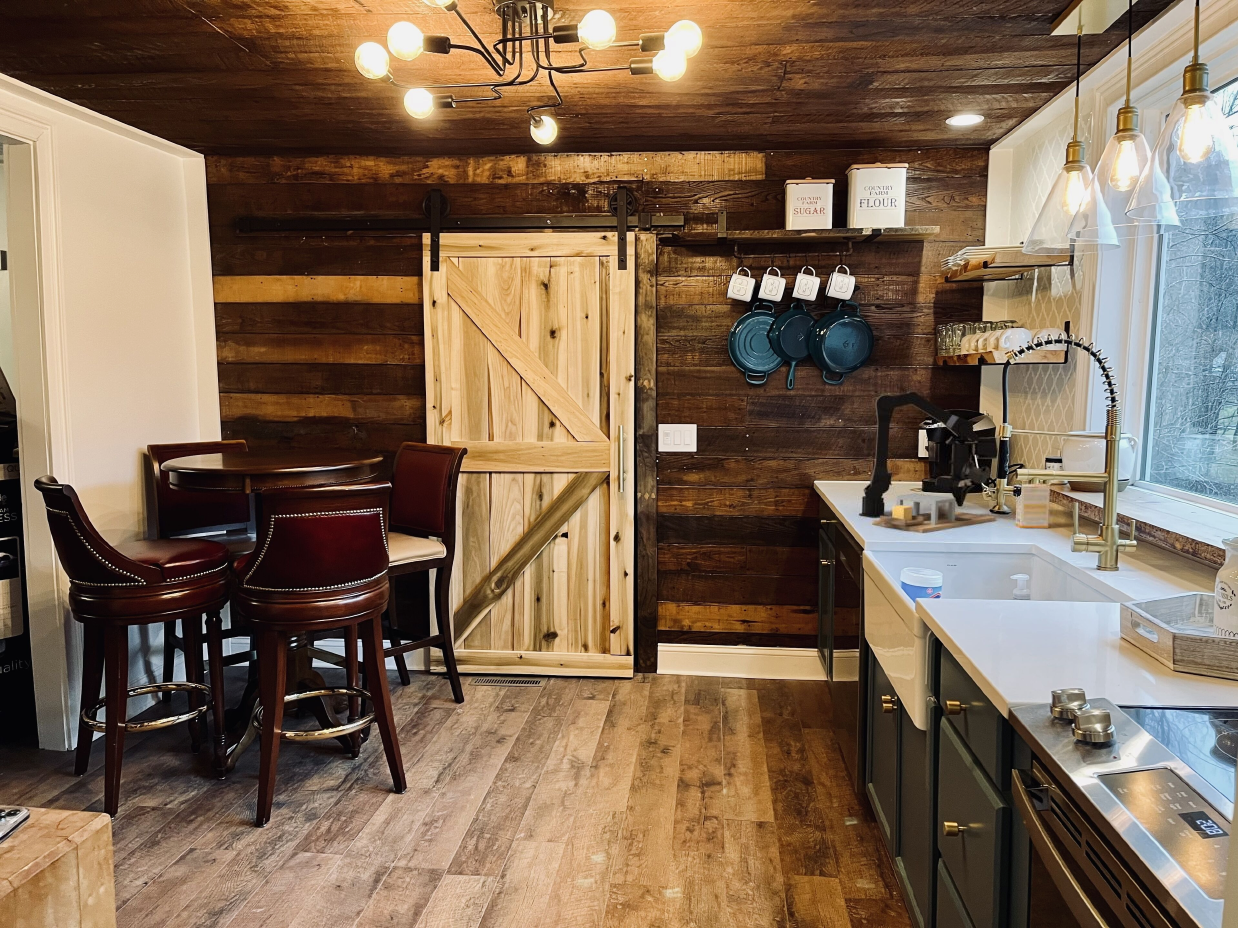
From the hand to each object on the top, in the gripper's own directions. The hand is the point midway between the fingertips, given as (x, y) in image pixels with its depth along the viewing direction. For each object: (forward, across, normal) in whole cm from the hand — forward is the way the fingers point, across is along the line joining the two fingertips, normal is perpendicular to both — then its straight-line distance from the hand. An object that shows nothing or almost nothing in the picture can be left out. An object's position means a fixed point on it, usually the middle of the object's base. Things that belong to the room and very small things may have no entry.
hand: (959, 506), depth 279 cm
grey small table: (+4, -18, 0) cm, 18 cm away
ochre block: (+1, -29, 0) cm, 29 cm away
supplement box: (+4, +4, -22) cm, 23 cm away
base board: (+4, -13, 0) cm, 14 cm away
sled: (+2, -21, 0) cm, 21 cm away
